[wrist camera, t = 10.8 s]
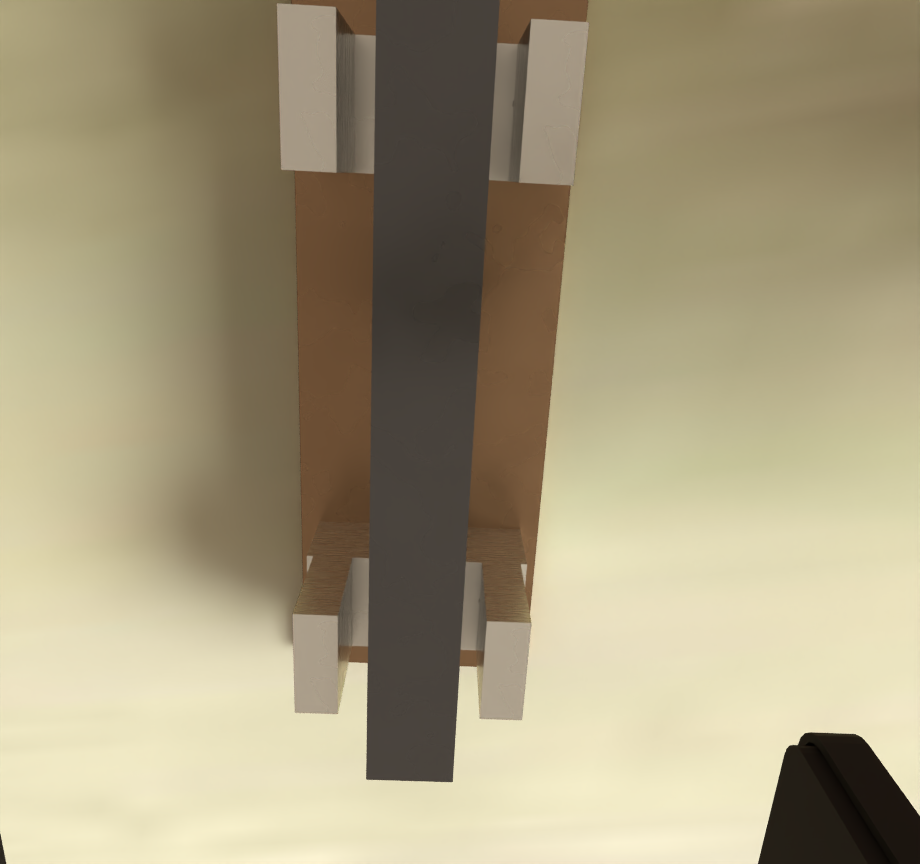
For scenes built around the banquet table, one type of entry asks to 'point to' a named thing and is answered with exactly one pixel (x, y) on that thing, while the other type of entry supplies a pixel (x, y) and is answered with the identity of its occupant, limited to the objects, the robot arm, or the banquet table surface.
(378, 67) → the dark grey bar
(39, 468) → the banquet table surface
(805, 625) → the banquet table surface
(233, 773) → the banquet table surface
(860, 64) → the banquet table surface
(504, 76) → the bracket
